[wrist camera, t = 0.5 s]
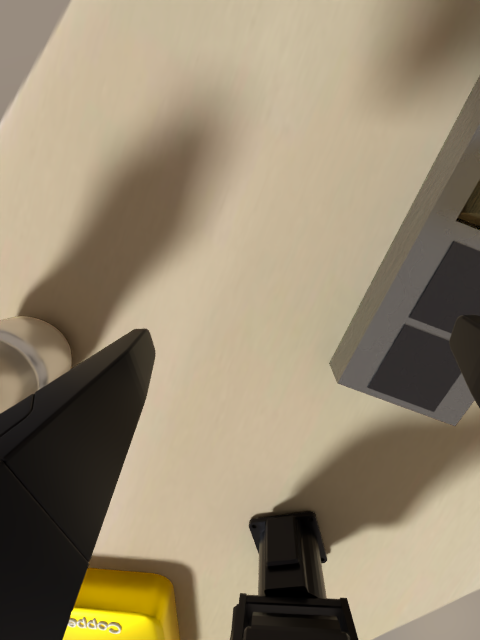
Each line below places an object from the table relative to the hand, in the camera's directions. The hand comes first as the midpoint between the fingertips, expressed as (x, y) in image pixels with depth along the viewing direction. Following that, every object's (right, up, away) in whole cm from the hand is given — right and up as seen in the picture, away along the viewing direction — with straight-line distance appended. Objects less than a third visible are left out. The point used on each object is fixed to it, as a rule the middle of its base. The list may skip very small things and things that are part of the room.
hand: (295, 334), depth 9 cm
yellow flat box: (-17, -34, +29) cm, 48 cm away
